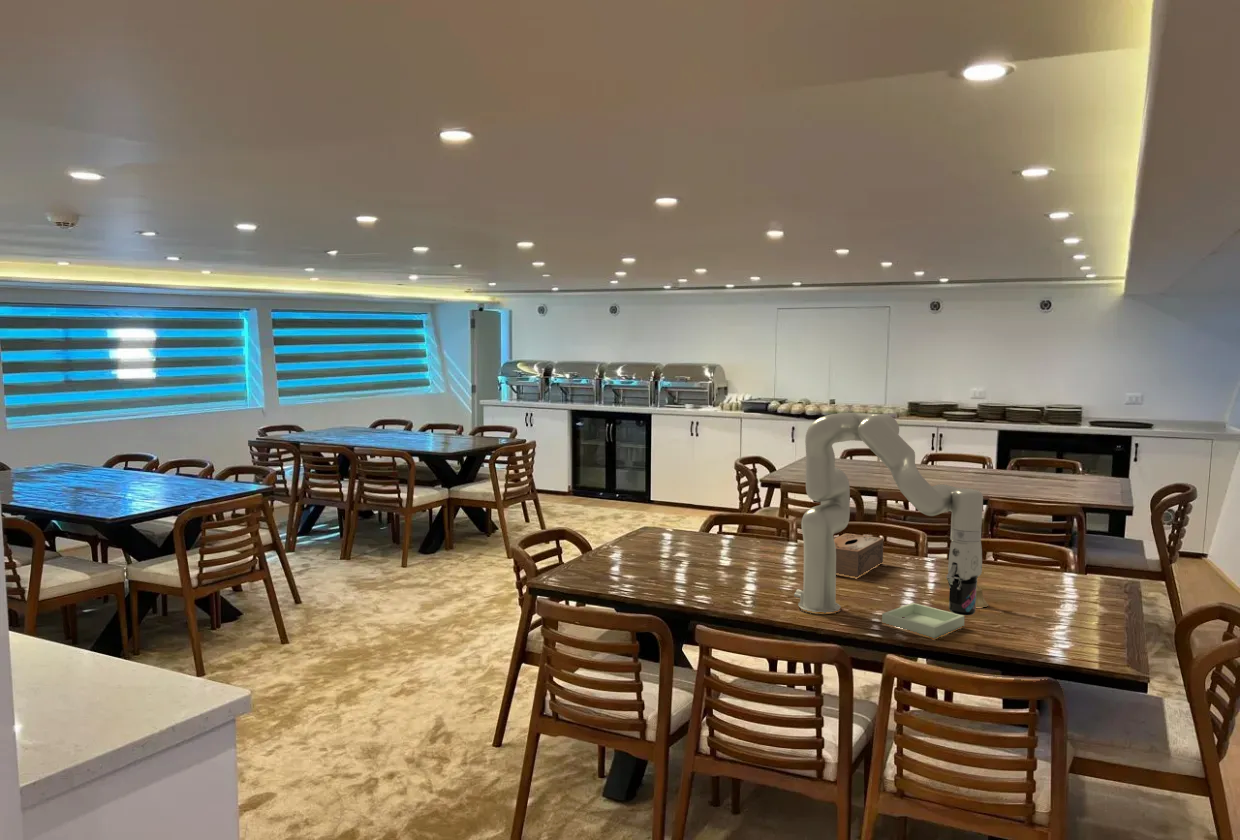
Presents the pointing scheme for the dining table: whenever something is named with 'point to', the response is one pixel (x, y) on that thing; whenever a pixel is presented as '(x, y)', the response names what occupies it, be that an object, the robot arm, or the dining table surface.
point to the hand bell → (980, 598)
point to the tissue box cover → (857, 553)
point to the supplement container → (966, 597)
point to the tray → (923, 619)
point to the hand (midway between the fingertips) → (962, 599)
